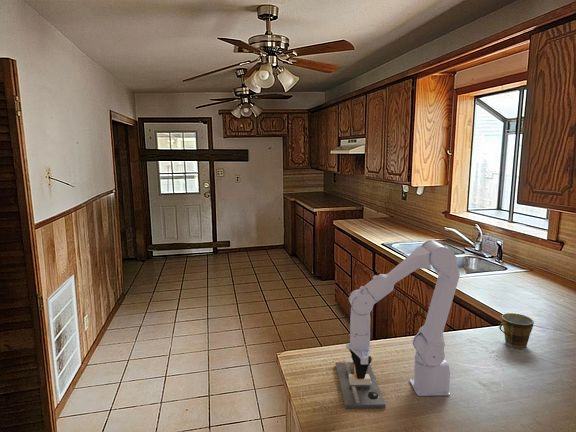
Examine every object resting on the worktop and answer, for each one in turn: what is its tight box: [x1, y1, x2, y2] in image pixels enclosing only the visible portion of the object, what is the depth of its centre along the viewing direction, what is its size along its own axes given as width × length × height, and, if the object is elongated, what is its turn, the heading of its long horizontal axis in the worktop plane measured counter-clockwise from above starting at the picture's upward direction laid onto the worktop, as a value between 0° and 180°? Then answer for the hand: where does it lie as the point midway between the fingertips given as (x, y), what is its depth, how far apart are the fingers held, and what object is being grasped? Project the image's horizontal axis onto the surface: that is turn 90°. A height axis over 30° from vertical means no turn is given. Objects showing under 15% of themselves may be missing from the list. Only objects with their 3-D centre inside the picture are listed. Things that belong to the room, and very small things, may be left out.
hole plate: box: [335, 357, 386, 410], centre depth 117 cm, size 11×22×4 cm, turn 0°
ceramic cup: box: [499, 312, 535, 350], centre depth 139 cm, size 13×10×10 cm
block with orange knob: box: [349, 364, 372, 385], centre depth 114 cm, size 7×3×6 cm, turn 90°
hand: (359, 374), depth 114 cm, fingers closed on block with orange knob, 3 cm apart
